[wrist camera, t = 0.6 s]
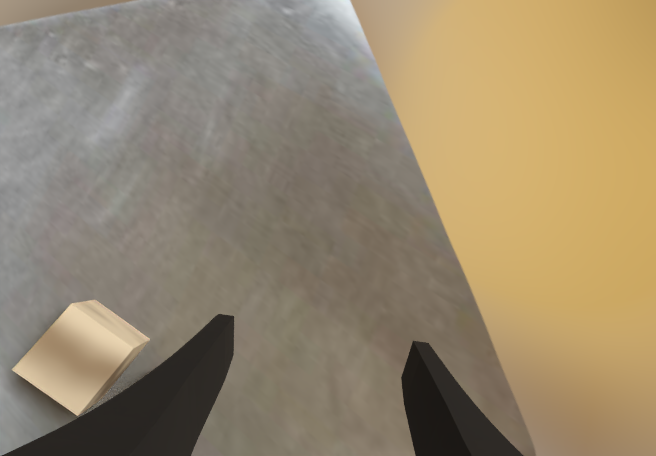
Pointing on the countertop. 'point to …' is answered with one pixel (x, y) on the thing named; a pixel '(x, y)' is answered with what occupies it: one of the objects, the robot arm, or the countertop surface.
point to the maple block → (81, 355)
